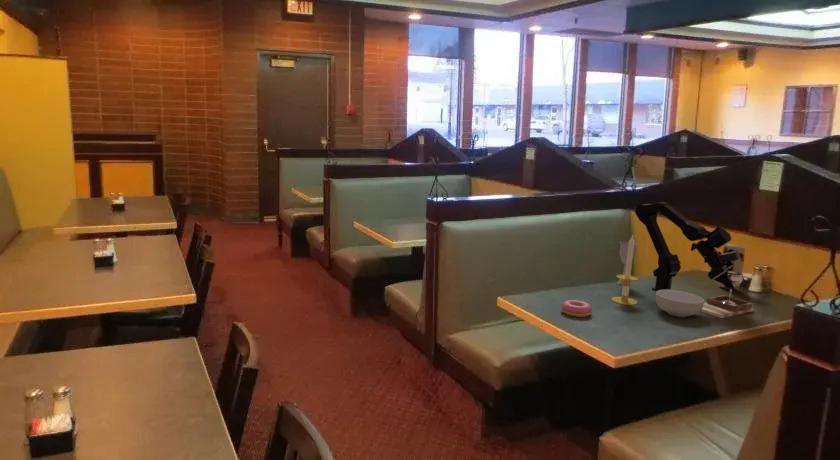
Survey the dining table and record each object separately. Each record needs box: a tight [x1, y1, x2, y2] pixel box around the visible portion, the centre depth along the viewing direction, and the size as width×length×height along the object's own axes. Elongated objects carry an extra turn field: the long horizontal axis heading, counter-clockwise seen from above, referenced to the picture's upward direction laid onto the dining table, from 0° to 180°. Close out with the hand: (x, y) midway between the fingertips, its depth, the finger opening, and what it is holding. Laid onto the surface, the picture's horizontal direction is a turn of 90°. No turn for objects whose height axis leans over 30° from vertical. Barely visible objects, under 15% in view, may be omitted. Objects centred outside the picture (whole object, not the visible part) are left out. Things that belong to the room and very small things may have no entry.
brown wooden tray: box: [700, 294, 754, 319], centre depth 245 cm, size 21×13×3 cm, turn 123°
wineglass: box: [722, 271, 744, 305], centre depth 246 cm, size 7×7×12 cm
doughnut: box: [560, 299, 593, 318], centre depth 230 cm, size 11×11×4 cm
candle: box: [610, 234, 639, 306], centre depth 246 cm, size 10×10×27 cm
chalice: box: [617, 241, 638, 286], centre depth 273 cm, size 7×7×18 cm
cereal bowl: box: [655, 289, 705, 318], centre depth 236 cm, size 17×17×7 cm
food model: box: [717, 243, 746, 292], centre depth 275 cm, size 10×7×20 cm
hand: (735, 287), depth 245 cm, fingers closed on wineglass, 6 cm apart
